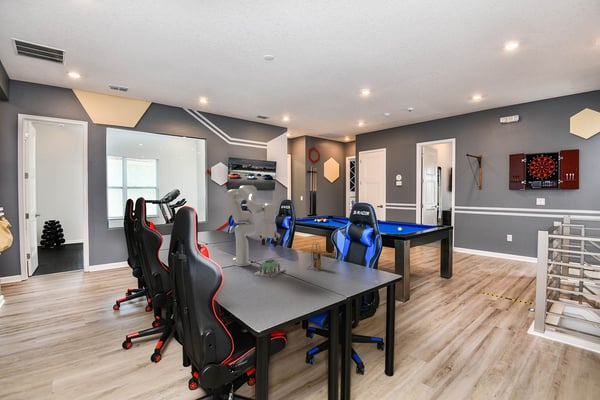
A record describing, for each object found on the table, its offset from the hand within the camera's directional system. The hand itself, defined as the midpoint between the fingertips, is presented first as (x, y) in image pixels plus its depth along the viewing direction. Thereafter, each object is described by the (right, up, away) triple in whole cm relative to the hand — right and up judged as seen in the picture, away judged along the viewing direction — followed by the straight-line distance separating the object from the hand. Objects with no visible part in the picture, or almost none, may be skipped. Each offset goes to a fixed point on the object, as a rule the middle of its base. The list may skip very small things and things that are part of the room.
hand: (269, 245), depth 204 cm
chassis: (0, -19, 0) cm, 19 cm away
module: (+1, -16, 0) cm, 16 cm away
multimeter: (+31, -19, +8) cm, 37 cm away
